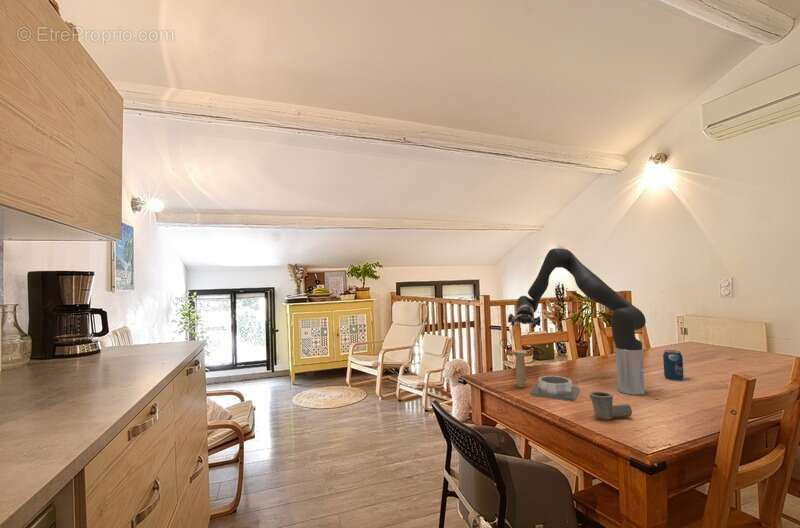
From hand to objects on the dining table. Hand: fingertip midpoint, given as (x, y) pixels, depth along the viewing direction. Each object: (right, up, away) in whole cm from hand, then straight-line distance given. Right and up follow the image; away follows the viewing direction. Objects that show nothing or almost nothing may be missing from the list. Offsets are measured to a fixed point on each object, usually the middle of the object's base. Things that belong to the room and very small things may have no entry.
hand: (523, 324), depth 169 cm
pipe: (+14, -24, -45) cm, 53 cm away
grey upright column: (-4, -25, -8) cm, 27 cm away
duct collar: (+7, -24, -17) cm, 31 cm away
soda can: (+65, -23, -4) cm, 69 cm away
